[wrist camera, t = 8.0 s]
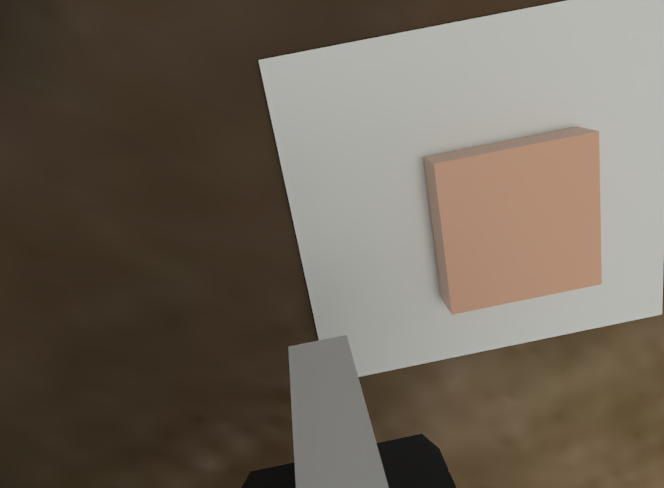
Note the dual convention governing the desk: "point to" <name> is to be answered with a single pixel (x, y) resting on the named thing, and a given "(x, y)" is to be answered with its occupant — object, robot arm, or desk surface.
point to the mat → (460, 133)
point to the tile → (516, 218)
